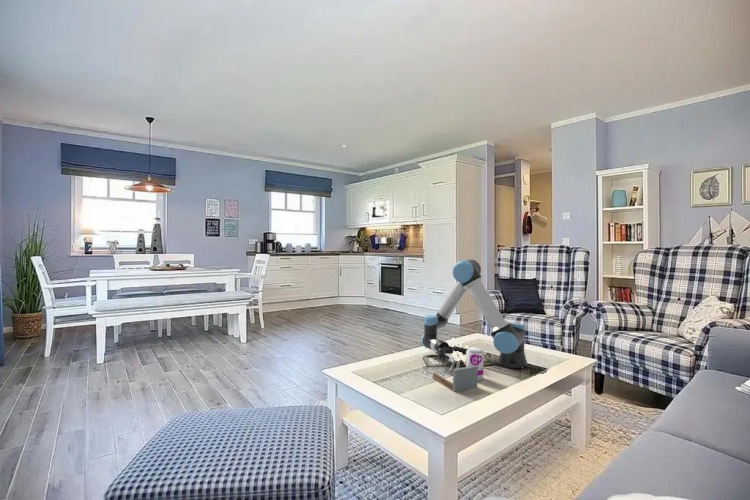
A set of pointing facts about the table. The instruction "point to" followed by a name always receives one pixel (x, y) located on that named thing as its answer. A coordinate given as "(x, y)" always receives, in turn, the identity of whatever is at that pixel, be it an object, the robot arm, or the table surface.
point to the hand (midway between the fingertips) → (464, 358)
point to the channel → (443, 381)
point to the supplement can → (475, 360)
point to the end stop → (465, 378)
